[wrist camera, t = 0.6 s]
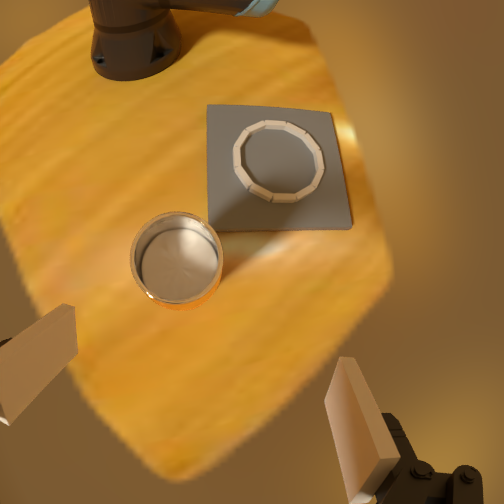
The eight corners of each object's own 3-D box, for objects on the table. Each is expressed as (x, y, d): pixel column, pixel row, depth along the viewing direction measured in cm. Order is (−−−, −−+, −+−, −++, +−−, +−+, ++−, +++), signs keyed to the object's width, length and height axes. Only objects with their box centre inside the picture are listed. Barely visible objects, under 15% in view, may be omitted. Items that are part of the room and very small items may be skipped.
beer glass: (215, 255, 37) (227, 210, 23) (214, 315, 36) (225, 309, 21) (156, 252, 36) (131, 206, 22) (153, 312, 34) (123, 305, 20)
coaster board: (206, 109, 41) (207, 100, 39) (327, 117, 45) (332, 108, 42) (208, 232, 38) (209, 226, 35) (348, 229, 41) (355, 224, 39)
